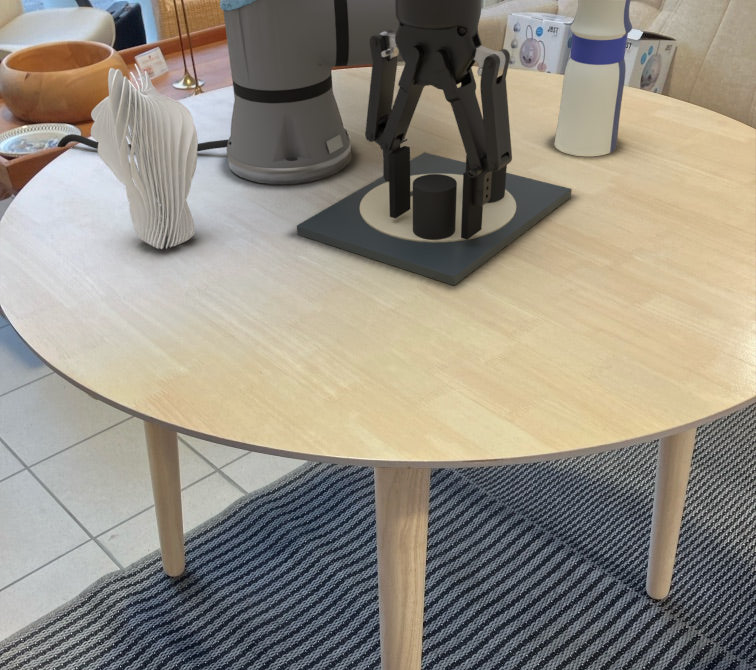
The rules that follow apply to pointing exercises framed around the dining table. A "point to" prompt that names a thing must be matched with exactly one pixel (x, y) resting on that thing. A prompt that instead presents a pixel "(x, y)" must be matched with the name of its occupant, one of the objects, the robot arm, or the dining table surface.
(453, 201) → the stamp
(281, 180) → the robot arm
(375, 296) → the dining table surface
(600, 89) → the water bottle
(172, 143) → the white ribbed sculpture
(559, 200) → the board
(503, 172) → the stamp
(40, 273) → the dining table surface
